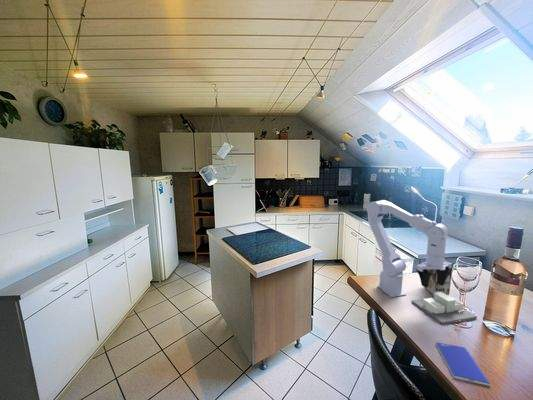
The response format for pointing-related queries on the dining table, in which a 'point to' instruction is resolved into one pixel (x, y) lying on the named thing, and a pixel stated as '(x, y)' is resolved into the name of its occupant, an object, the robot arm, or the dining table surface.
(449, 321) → the board
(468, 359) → the hard drive
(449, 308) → the block
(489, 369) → the dining table surface
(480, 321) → the dining table surface
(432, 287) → the coffee box
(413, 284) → the dining table surface
